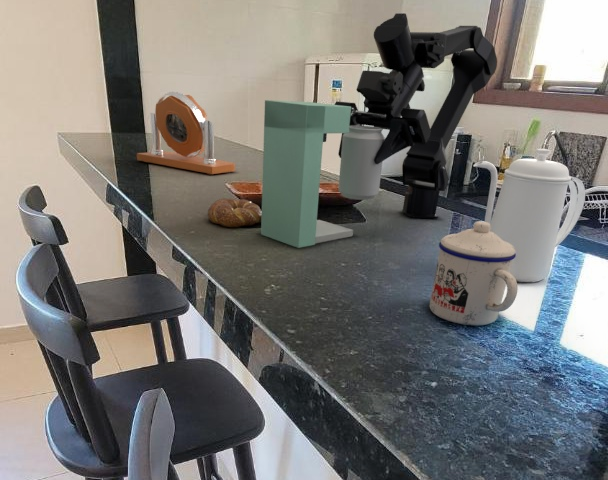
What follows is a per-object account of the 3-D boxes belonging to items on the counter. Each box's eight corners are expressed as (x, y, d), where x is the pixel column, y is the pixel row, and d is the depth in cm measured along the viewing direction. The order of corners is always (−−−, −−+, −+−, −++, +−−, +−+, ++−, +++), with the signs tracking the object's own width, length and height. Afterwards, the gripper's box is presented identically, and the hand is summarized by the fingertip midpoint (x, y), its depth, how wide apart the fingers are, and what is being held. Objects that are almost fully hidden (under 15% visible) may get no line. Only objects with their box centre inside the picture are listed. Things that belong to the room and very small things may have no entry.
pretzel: (252, 231, 98) (253, 211, 96) (196, 224, 99) (196, 204, 98) (269, 218, 108) (270, 199, 106) (218, 212, 110) (218, 193, 108)
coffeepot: (427, 269, 84) (450, 142, 76) (536, 257, 95) (567, 145, 86) (475, 292, 76) (508, 153, 67) (589, 276, 87) (629, 154, 78)
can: (369, 202, 94) (377, 129, 88) (331, 196, 97) (336, 125, 91) (383, 196, 100) (392, 127, 94) (347, 190, 103) (353, 123, 97)
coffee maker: (317, 225, 105) (326, 102, 95) (354, 236, 99) (369, 107, 89) (260, 234, 96) (264, 100, 86) (298, 248, 90) (307, 105, 80)
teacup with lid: (413, 303, 70) (428, 215, 65) (467, 297, 74) (486, 212, 69) (472, 341, 61) (496, 241, 55) (531, 332, 64) (559, 237, 59)
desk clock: (210, 176, 148) (209, 95, 138) (135, 161, 161) (130, 87, 152) (238, 172, 157) (239, 96, 148) (165, 158, 171) (161, 88, 161)
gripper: (340, 51, 95) (298, 120, 93) (434, 54, 85) (389, 131, 83) (360, 100, 104) (322, 163, 102) (447, 108, 94) (407, 179, 92)
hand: (357, 159), depth 94 cm, fingers closed on can, 7 cm apart
